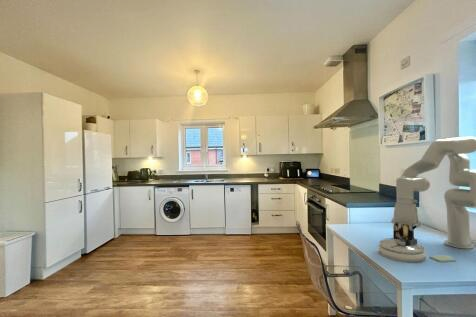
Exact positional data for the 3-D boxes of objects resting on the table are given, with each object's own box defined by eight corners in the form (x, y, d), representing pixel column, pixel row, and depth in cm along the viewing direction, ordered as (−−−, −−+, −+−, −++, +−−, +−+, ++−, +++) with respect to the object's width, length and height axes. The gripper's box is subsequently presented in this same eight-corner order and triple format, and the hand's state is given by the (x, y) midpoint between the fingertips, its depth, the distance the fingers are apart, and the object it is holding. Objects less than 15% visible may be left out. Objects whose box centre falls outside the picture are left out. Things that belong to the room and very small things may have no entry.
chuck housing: (405, 247, 143) (405, 241, 143) (436, 261, 123) (436, 254, 123) (370, 249, 141) (370, 242, 141) (396, 263, 121) (396, 256, 121)
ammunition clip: (393, 238, 160) (392, 219, 160) (393, 237, 162) (392, 218, 162) (414, 241, 154) (413, 221, 154) (414, 240, 156) (413, 220, 156)
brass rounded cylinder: (404, 240, 138) (403, 223, 138) (411, 241, 135) (410, 224, 135) (401, 241, 136) (401, 224, 136) (408, 243, 133) (408, 225, 133)
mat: (444, 256, 129) (444, 255, 129) (455, 261, 123) (455, 259, 123) (429, 257, 128) (429, 255, 128) (440, 262, 122) (440, 260, 122)
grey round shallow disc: (394, 240, 145) (393, 233, 145) (432, 250, 128) (432, 242, 128) (371, 245, 136) (371, 237, 136) (409, 257, 119) (409, 248, 119)
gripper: (425, 202, 133) (426, 238, 132) (389, 199, 144) (390, 232, 144) (422, 204, 127) (423, 241, 127) (385, 200, 139) (386, 235, 139)
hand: (405, 236), depth 135 cm, fingers open, 3 cm apart
